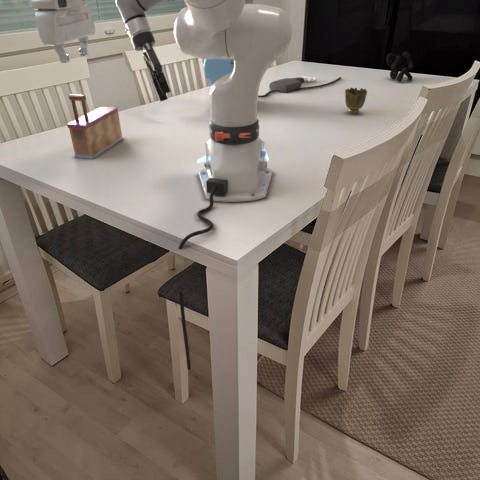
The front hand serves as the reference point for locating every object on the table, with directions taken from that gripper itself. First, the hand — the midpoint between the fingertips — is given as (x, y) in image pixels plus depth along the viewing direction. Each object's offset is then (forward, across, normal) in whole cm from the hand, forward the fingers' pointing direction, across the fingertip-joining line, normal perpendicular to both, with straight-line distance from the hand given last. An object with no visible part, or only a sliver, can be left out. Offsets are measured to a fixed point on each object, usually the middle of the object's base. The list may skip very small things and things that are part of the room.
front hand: (75, 59), depth 115 cm
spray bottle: (+26, -90, +47) cm, 105 cm away
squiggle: (+26, -108, +93) cm, 145 cm away
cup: (+26, -53, +73) cm, 94 cm away
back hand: (+19, -37, +9) cm, 42 cm away
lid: (+17, -5, -1) cm, 18 cm away
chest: (+26, -5, -1) cm, 26 cm away
